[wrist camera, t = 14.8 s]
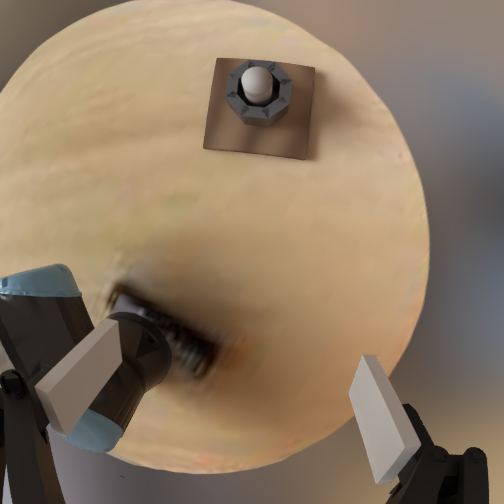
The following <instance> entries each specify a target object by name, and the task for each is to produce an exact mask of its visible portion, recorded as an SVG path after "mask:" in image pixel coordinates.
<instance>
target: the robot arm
mask: <svg viewBox="0 0 504 504" xmlns="http://www.w3.org/2000/svg"><path fill="white" fill-rule="evenodd" d="M81 296H82V293H81V292H80V291H79V289H78V287H77V284H76V282H75V280H74V277H73V275H72V272H71V270H70V269H69V268H68V267H67V266H65V265H63V264H53V265H48V266H44V267H40V268H36V269H32V270H28V271H24V272H20V273H16V274H13V275H9V276H6V277H2V278H0V384H1V387H2V388H0V504H2V498H3V486H4V477H5V469H6V464H7V472H8V479H9V486H10V492H11V498H12V503H13V504H65V500H64V497H63V494H62V491H61V487H60V484H59V481H58V477H57V473H56V469H55V465H54V461H53V456H52V452H51V447H50V442H49V436H48V431H47V429H46V427H47V425H48V426H49V427H50V428H51V429H52V430H53V431H54V432H55V433H57V434H58V435H59V436H60V437H62V438H63V439H65V440H66V441H68V442H70V443H71V444H73V445H75V446H77V447H79V448H82V449H84V450H87V451H90V452H96V453H105V452H109V451H111V450H112V449H113V448H114V447H115V445H116V444H117V442H118V441H119V439H120V438H121V437H122V436H123V434H124V432H125V430H126V428H127V426H128V424H129V422H130V420H131V418H132V416H133V414H134V412H135V410H136V408H137V407H138V405H139V403H140V401H141V399H142V397H143V395H144V394H145V393H146V392H147V391H149V390H150V389H151V388H153V387H154V386H155V385H157V384H159V383H160V382H161V381H162V380H163V379H164V378H165V376H166V374H167V372H168V370H169V368H170V366H171V351H170V348H169V345H168V343H167V341H166V339H165V338H164V336H163V335H162V333H161V332H160V331H159V330H158V329H157V328H156V327H155V326H154V325H153V324H152V323H150V322H149V321H147V320H146V319H144V318H142V317H140V316H138V315H135V314H132V313H127V312H118V313H114V314H111V315H109V316H108V317H106V318H105V319H104V320H103V321H102V322H101V323H100V324H99V325H98V326H97V327H96V328H94V326H93V324H92V321H91V319H90V317H89V314H88V312H87V309H86V307H85V304H84V302H83V299H82V297H81ZM348 395H349V398H350V401H351V404H352V407H353V410H354V413H355V416H356V419H357V422H358V426H359V429H360V432H361V435H362V438H363V442H364V445H365V448H366V452H367V455H368V458H369V462H370V465H371V469H372V472H373V476H374V479H375V483H376V485H379V484H384V483H391V482H392V481H393V480H394V479H395V478H396V476H397V475H398V477H399V480H400V482H399V483H398V484H397V485H396V486H395V487H394V488H393V490H392V491H391V492H390V494H391V496H390V497H389V499H388V501H387V502H386V504H489V482H488V467H487V457H486V454H485V453H484V452H483V451H482V450H481V449H479V448H476V447H470V448H468V449H467V450H466V451H465V453H464V454H463V455H450V454H449V453H448V452H447V451H446V450H445V449H444V448H442V447H440V446H436V445H434V443H433V442H432V440H431V438H430V436H429V434H428V432H427V430H426V428H425V426H424V425H423V423H422V421H421V419H420V417H419V415H418V413H417V412H416V410H415V409H414V408H413V407H412V406H411V405H410V404H401V403H400V401H399V398H398V397H397V395H396V393H395V391H394V389H393V387H392V385H391V383H390V382H389V380H388V378H387V376H386V374H385V372H384V370H383V368H382V367H381V365H380V363H379V361H378V359H377V358H376V356H375V355H362V357H361V360H360V363H359V366H358V368H357V371H356V374H355V377H354V379H353V382H352V385H351V387H350V390H349V392H348Z"/></svg>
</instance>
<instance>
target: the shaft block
mask: <svg viewBox="0 0 504 504" xmlns="http://www.w3.org/2000/svg"><path fill="white" fill-rule="evenodd" d="M248 60H250V59H234V58H217V59H216V65H215V71H214V76H213V82H212V88H211V95H210V101H209V108H208V114H207V121H206V129H205V136H204V144H203V148H204V149H212V150H224V151H235V152H245V153H254V154H263V155H271V156H279V157H286V158H293V159H300V160H305V159H306V151H307V142H308V133H309V124H310V115H311V105H312V95H313V84H314V72H315V68H314V67H309V66H303V65H296V64H289V63H281V62H276V63H277V64H278V65H279V66H280V67H281V68H282V69H283V70H284V71H285V73H286V74H287V75H288V76H289V77H290V78H291V79H292V89H291V98H290V105H289V109H288V112H287V114H286V115H285V116H283V117H282V118H280V119H279V120H278V121H276V122H275V123H273V124H272V125H271V126H269V127H263V126H254V125H245V124H244V123H243V122H242V121H241V120H240V119H239V117H238V116H237V115H236V114H235V113H234V112H233V110H232V109H231V108H230V106H229V105H228V103H227V101H226V99H225V91H226V85H227V78H228V74H229V73H230V72H232V71H233V70H234V69H236V68H237V67H239V66H240V65H242V64H243V63H245V62H246V61H248ZM260 61H262V60H260ZM271 62H272V61H271ZM272 81H273V79H272V75H271V73H270V72H269V71H268V70H267V69H265V68H263V67H252V68H249V69H248V70H246V71H245V72H244V74H243V76H242V85H243V89H244V90H243V91H242V98H241V99H242V100H243V102H244V103H245V104H246V105H247V106H255V107H264V108H265V107H266V106H268V105H269V104H271V103H272V102H274V101H275V100H277V99H278V98H279V94H278V93H277V92H276V91H275V90H274V89H273V87H272Z"/></svg>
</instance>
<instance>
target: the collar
mask: <svg viewBox="0 0 504 504" xmlns="http://www.w3.org/2000/svg"><path fill="white" fill-rule="evenodd" d="M252 67H263V68H265V69H267V70H268V71H269V72H270V73H271V75H272V79H273V81H272V87H273V89H274V90H275V91H276V92H277V93H278V94H279V98H278V99H277V100H275V101H274V102H272V103H271V104H269V105H268V106H266V107H265V108H264V107H255V106H247V105H246V104H245V103H244V102H243V100H242V99H241V98H242V91H243V90H244V89H243V85H242V76H243V74H244V72H245V71H246V70H248V69H249V68H252ZM291 89H292V79H291V78H290V77H289V76H288V75H287V74H286V73H285V71H284V70H283V69H282V68H281V67H280V66H279V65H278V64H277V63H276V62H271V61H260V60H248V61H246V62H245V63H243V64H242V65H240V66H239V67H237V68H236V69H234V70H233V71H232V72H230V73H229V74H228V78H227V85H226V91H225V99H226V101H227V103H228V105H229V106H230V108H231V109H232V110H233V112H234V113H235V114H236V115H237V116H238V117H239V119H240V120H241V121H242V122H243V123H244V124H245V125H254V126H263V127H269V126H271V125H272V124H273V123H275V122H276V121H278V120H279V119H280V118H282V117H283V116H285V115H286V114H287V112H288V109H289V105H290V98H291Z"/></svg>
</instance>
